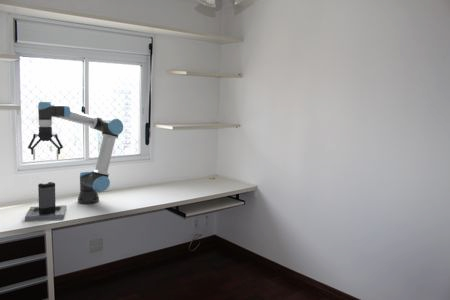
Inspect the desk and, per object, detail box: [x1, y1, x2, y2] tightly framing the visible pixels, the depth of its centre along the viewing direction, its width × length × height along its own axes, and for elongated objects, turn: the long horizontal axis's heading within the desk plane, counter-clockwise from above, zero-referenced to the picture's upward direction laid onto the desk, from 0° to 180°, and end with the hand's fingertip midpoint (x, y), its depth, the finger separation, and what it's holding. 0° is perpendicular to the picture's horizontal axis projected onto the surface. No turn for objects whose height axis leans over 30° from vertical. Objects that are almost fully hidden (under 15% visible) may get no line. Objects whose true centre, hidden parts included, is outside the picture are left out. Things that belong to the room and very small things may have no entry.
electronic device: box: [37, 181, 57, 214], centre depth 244 cm, size 9×6×20 cm, turn 141°
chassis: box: [24, 204, 67, 222], centre depth 246 cm, size 22×22×4 cm
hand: (46, 159), depth 242 cm, fingers open, 13 cm apart
